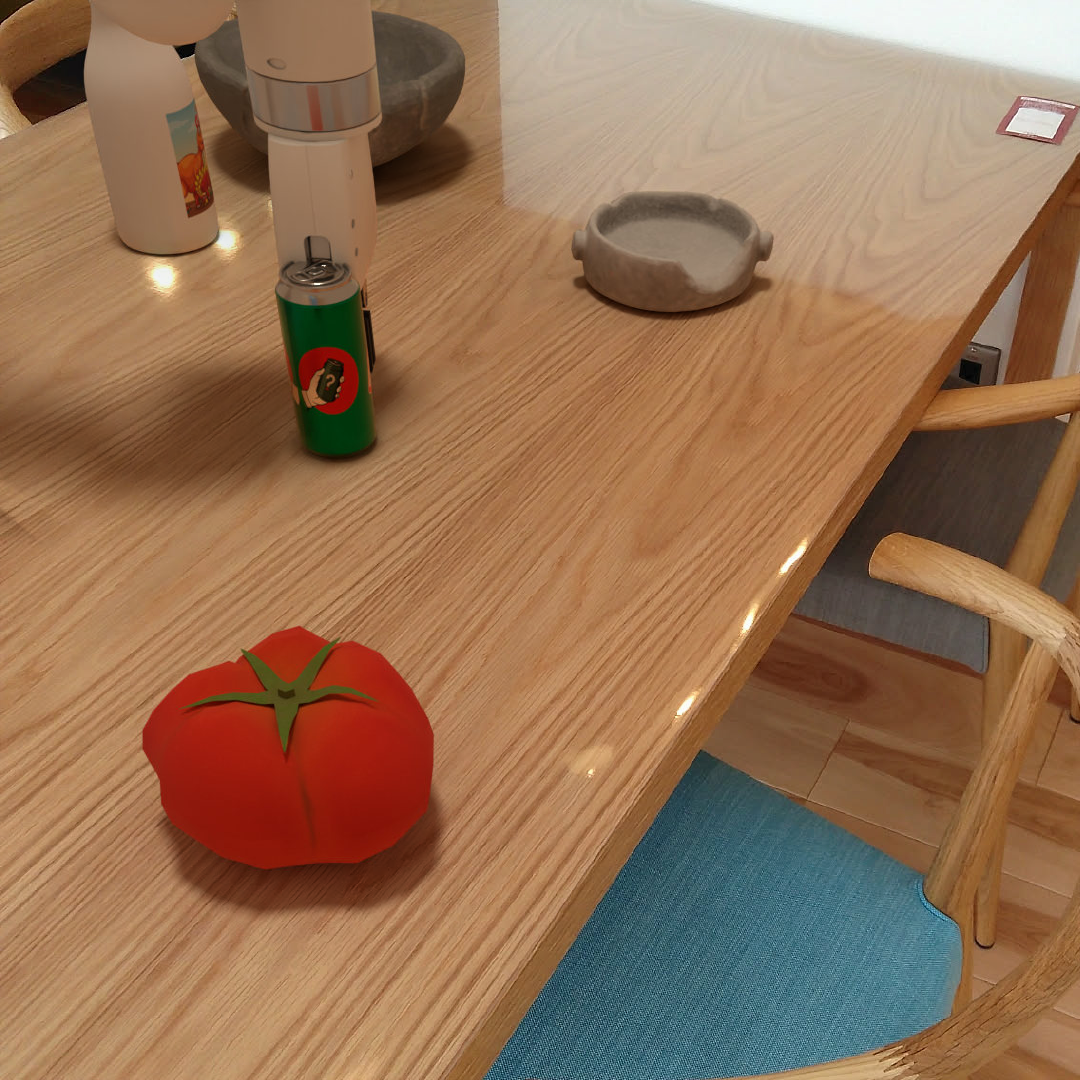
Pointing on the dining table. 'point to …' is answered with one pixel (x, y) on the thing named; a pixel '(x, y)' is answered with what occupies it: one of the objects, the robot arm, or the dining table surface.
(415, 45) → the bowl
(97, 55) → the milk bottle
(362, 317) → the soda can
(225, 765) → the tomato
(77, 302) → the dining table surface
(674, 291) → the dish
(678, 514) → the dining table surface
